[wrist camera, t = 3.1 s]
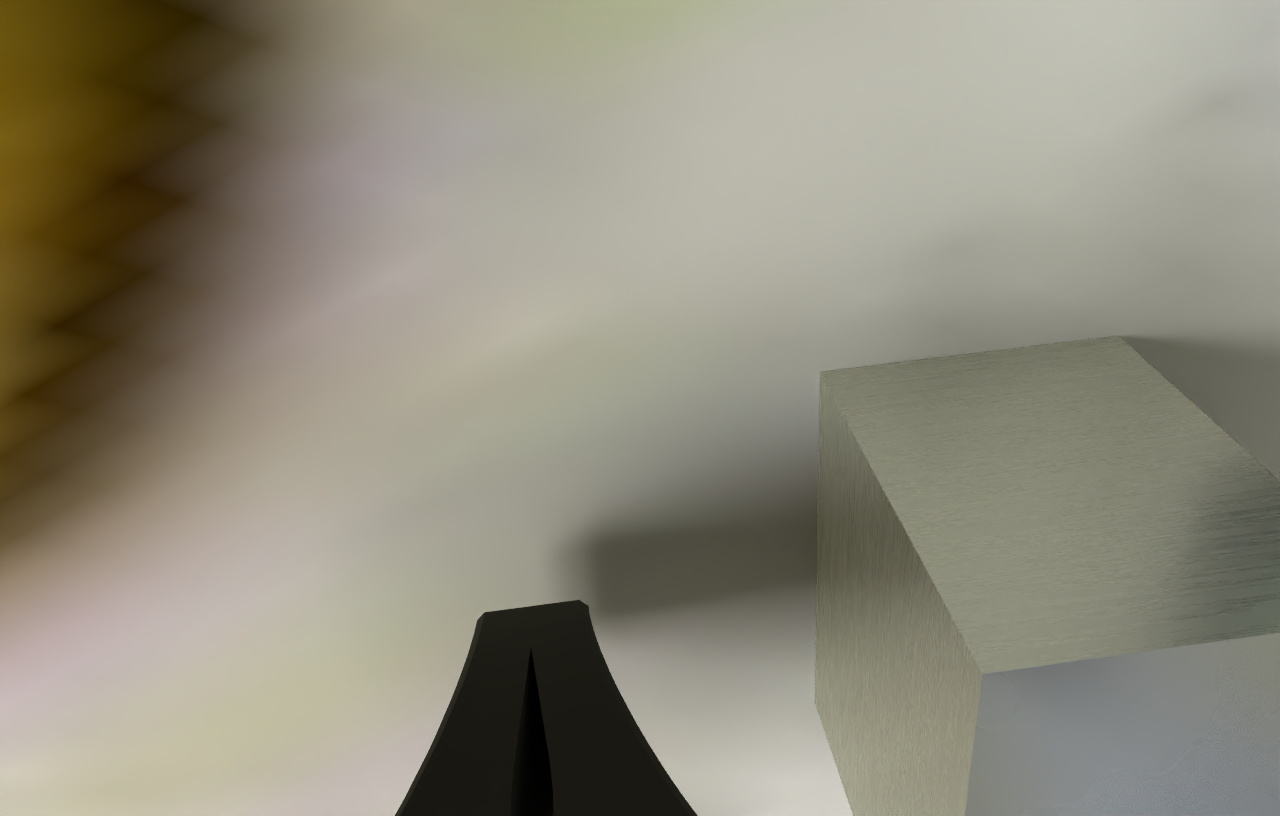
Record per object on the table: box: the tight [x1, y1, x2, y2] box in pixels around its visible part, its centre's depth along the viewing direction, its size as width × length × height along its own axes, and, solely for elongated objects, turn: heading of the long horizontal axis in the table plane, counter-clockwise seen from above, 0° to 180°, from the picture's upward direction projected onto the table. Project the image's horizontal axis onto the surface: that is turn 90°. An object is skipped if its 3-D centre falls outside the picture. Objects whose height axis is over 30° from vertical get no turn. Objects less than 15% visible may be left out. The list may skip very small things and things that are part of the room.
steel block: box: [815, 336, 1280, 816], centre depth 13 cm, size 6×4×6 cm, turn 4°
